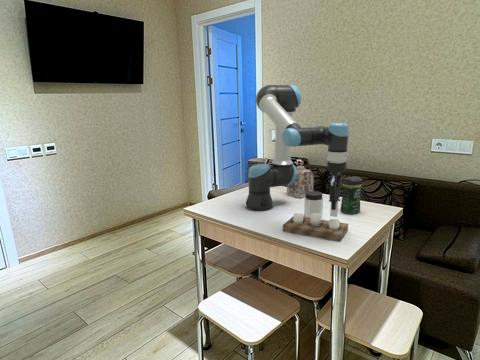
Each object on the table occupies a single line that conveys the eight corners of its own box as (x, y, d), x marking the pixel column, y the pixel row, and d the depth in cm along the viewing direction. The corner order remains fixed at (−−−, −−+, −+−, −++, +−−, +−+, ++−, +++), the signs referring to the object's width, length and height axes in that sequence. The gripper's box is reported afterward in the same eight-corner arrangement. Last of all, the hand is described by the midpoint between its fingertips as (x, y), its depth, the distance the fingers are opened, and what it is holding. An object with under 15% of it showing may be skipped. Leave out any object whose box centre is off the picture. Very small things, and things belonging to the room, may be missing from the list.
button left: (291, 226, 143) (291, 215, 142) (295, 223, 147) (295, 213, 146) (301, 228, 141) (301, 217, 140) (304, 224, 145) (304, 214, 144)
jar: (325, 217, 157) (326, 194, 154) (312, 220, 153) (313, 196, 150) (314, 212, 165) (314, 190, 162) (301, 215, 161) (301, 192, 158)
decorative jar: (313, 195, 195) (314, 166, 191) (299, 198, 189) (300, 169, 185) (300, 191, 205) (300, 164, 201) (286, 194, 199) (286, 166, 195)
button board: (282, 231, 141) (282, 224, 140) (294, 221, 153) (294, 214, 152) (340, 241, 128) (340, 234, 128) (347, 230, 140) (348, 223, 140)
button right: (327, 232, 136) (327, 221, 134) (329, 229, 139) (330, 218, 138) (337, 234, 133) (338, 223, 132) (340, 230, 137) (340, 219, 136)
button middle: (309, 226, 139) (309, 215, 138) (312, 222, 143) (312, 212, 142) (318, 227, 137) (319, 216, 136) (321, 224, 141) (322, 213, 140)
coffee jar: (350, 215, 158) (352, 179, 154) (337, 211, 165) (339, 176, 161) (363, 212, 163) (365, 176, 159) (350, 208, 170) (352, 174, 166)
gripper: (342, 165, 122) (339, 222, 128) (349, 159, 133) (346, 212, 139) (323, 163, 126) (320, 219, 132) (331, 158, 137) (328, 210, 142)
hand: (333, 215), depth 135 cm, fingers closed
